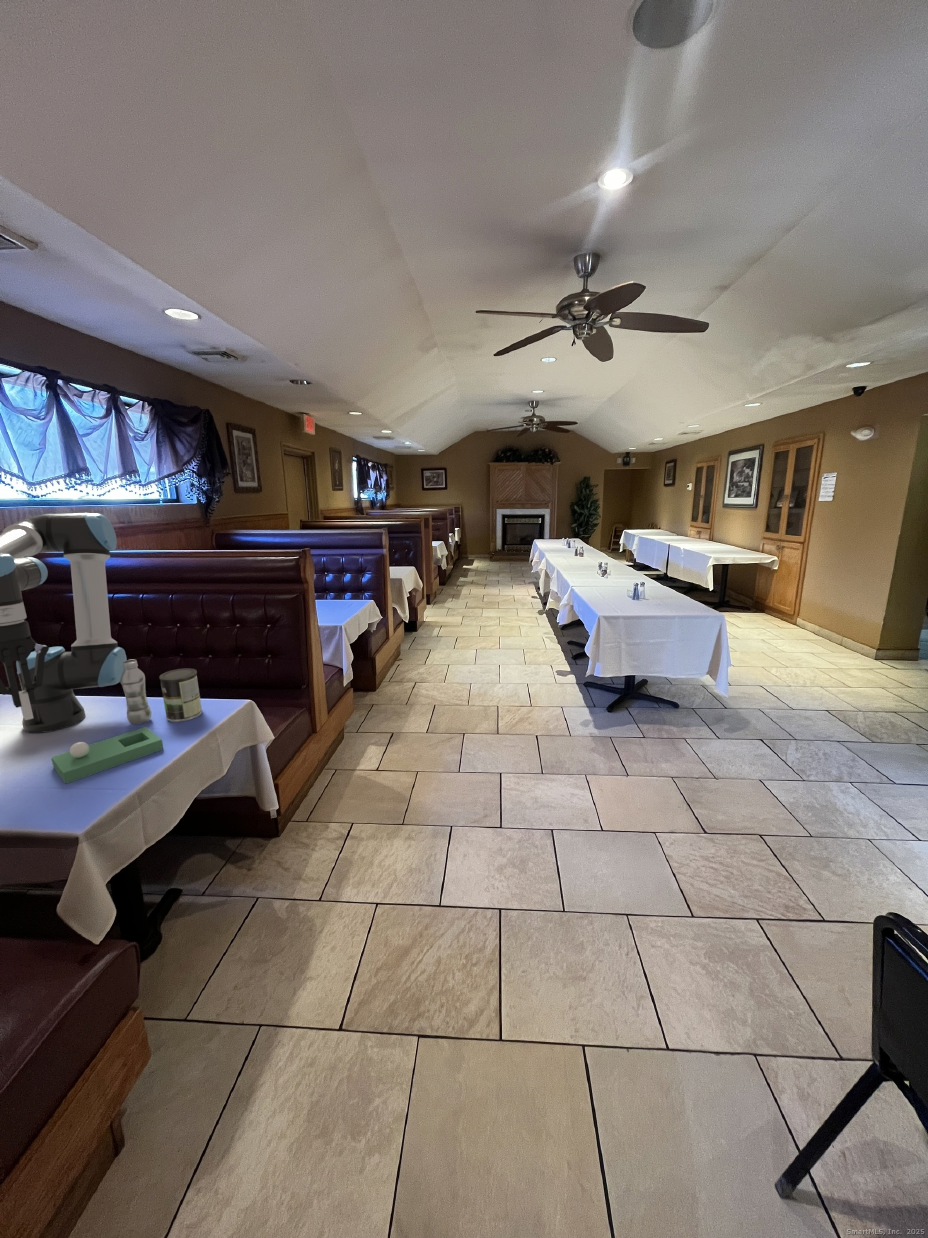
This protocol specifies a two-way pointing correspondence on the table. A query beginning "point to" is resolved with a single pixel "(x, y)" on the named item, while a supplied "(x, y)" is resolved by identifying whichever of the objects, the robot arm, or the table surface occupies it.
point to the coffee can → (181, 694)
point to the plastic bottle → (135, 693)
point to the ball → (79, 749)
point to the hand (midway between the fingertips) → (28, 717)
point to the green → (107, 754)
